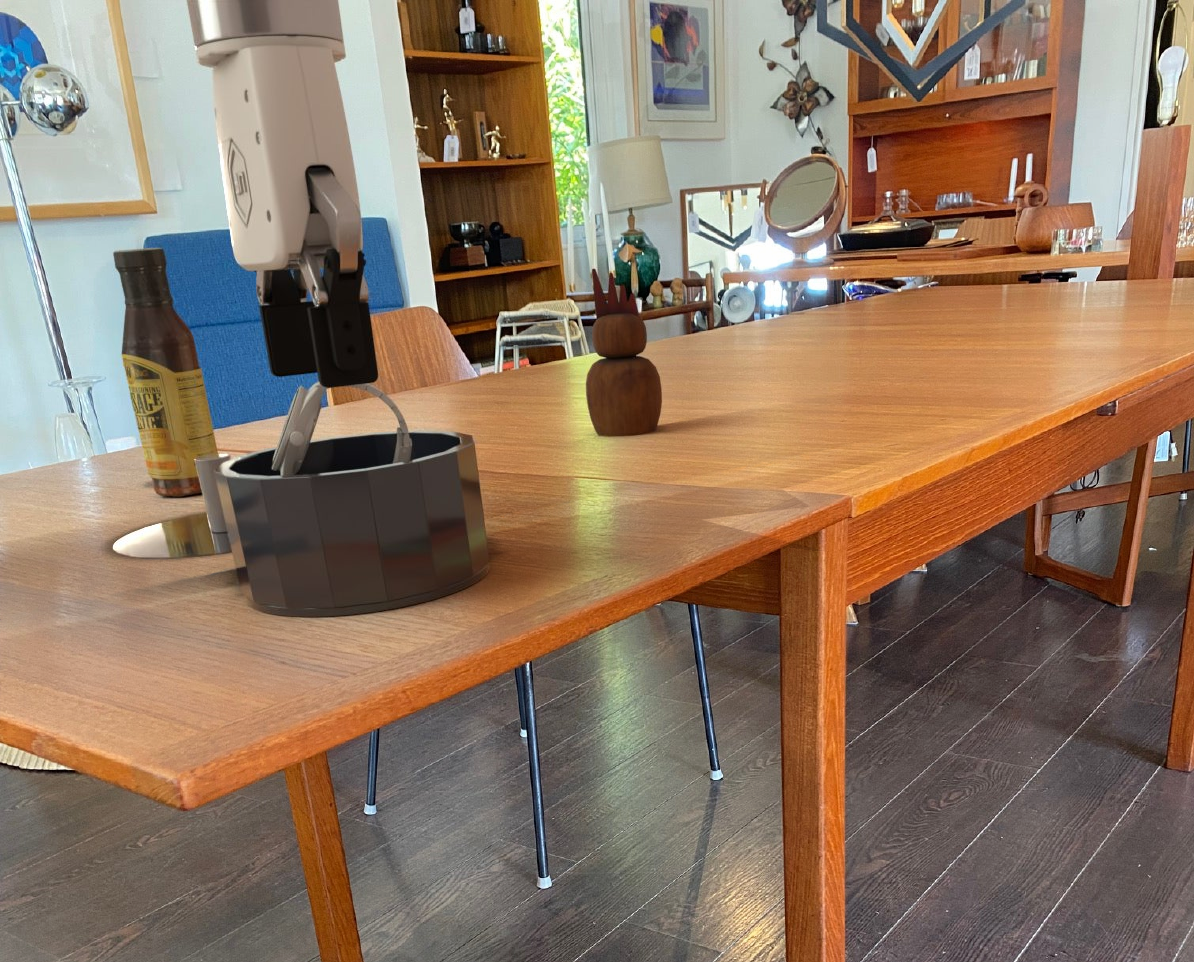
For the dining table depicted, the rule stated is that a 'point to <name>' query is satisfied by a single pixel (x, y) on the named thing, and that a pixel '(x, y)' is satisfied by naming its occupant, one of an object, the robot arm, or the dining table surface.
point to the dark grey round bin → (356, 524)
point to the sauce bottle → (163, 375)
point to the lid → (185, 525)
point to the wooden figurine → (621, 368)
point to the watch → (304, 422)
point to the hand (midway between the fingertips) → (322, 379)
